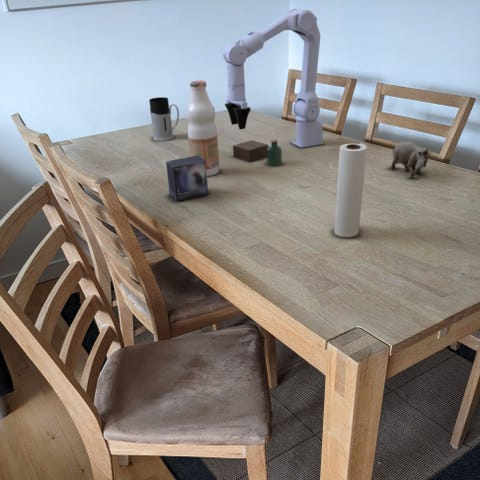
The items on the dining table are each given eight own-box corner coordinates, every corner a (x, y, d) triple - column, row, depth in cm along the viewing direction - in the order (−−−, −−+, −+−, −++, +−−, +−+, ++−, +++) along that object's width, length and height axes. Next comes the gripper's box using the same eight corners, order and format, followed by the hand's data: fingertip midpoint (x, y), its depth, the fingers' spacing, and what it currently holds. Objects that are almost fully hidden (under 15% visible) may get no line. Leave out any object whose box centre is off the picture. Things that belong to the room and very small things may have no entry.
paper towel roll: (342, 240, 123) (349, 151, 111) (329, 230, 128) (334, 145, 115) (367, 233, 125) (376, 146, 113) (353, 225, 130) (361, 140, 118)
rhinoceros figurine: (405, 155, 167) (423, 123, 153) (422, 189, 163) (442, 159, 149) (384, 160, 166) (400, 128, 152) (400, 194, 161) (418, 165, 147)
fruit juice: (191, 177, 166) (181, 85, 150) (192, 168, 174) (183, 80, 158) (219, 176, 166) (213, 83, 150) (219, 167, 174) (213, 78, 158)
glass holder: (163, 134, 213) (158, 96, 205) (188, 138, 206) (184, 99, 198) (148, 139, 208) (142, 100, 199) (174, 143, 201) (169, 103, 192)
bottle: (278, 160, 177) (278, 137, 172) (284, 164, 173) (284, 140, 168) (265, 162, 175) (264, 139, 171) (270, 166, 171) (270, 142, 167)
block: (251, 151, 187) (251, 140, 185) (268, 155, 182) (268, 144, 179) (233, 156, 183) (232, 145, 181) (249, 161, 177) (249, 150, 175)
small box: (176, 202, 149) (172, 166, 143) (169, 195, 153) (164, 161, 148) (209, 194, 152) (206, 160, 146) (200, 188, 157) (197, 154, 151)
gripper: (218, 82, 175) (221, 123, 183) (232, 89, 164) (234, 132, 172) (237, 80, 177) (239, 121, 185) (252, 87, 166) (253, 129, 174)
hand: (238, 126), depth 178 cm, fingers open, 7 cm apart
